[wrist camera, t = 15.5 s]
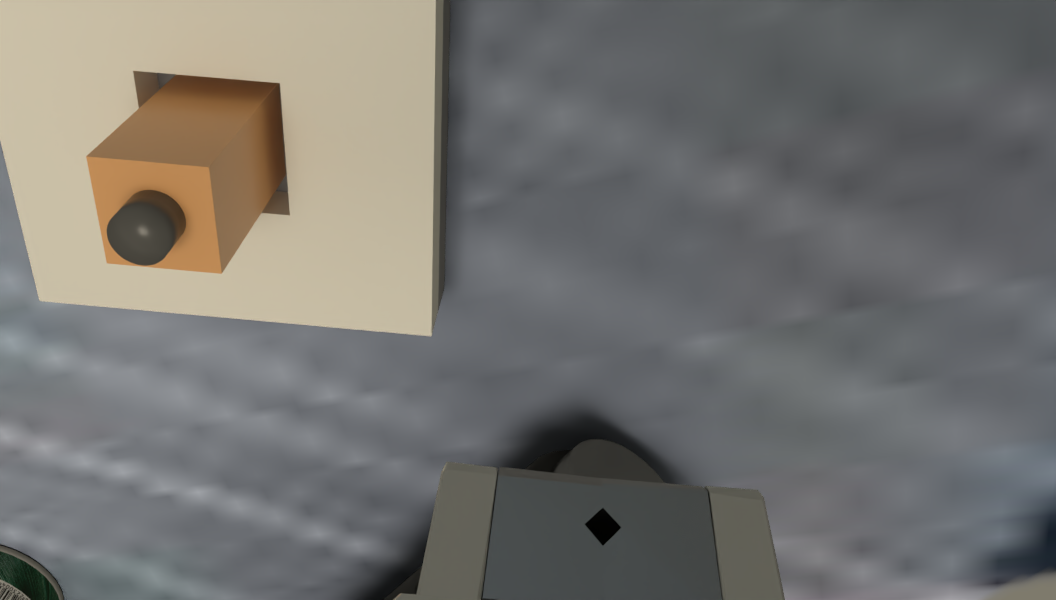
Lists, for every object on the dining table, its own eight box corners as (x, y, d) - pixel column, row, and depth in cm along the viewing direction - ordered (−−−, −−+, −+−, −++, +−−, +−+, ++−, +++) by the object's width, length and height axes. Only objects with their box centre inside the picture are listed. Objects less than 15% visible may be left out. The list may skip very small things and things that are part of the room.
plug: (279, 81, 38) (192, 187, 30) (285, 174, 40) (206, 296, 32) (177, 73, 38) (64, 176, 30) (190, 166, 40) (87, 286, 32)
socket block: (451, -76, 36) (436, -52, 33) (444, 287, 45) (431, 336, 42) (4, -112, 37) (-57, -92, 33) (81, 255, 45) (39, 300, 42)
